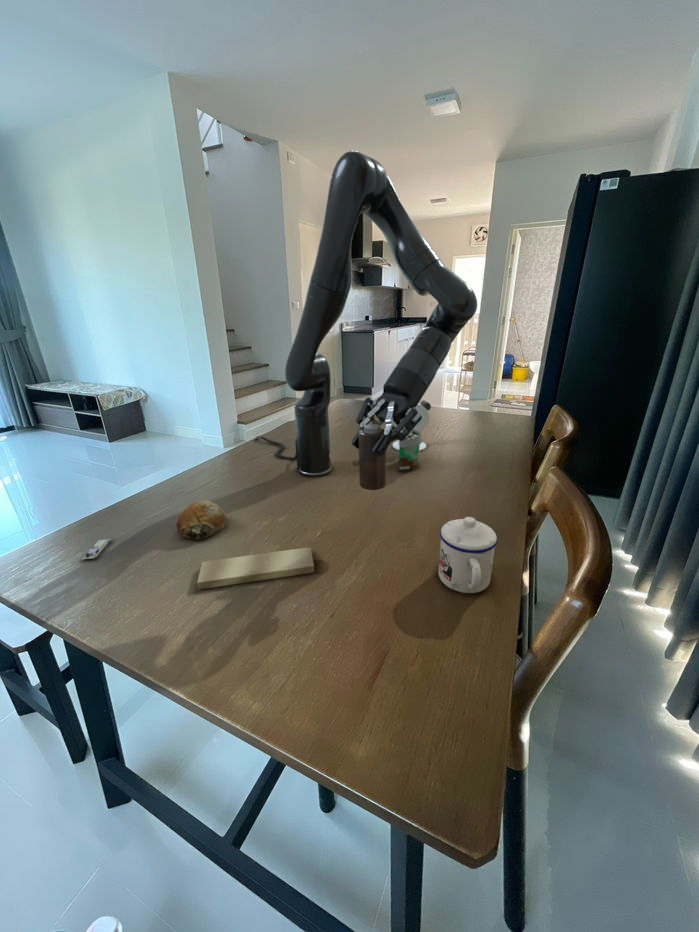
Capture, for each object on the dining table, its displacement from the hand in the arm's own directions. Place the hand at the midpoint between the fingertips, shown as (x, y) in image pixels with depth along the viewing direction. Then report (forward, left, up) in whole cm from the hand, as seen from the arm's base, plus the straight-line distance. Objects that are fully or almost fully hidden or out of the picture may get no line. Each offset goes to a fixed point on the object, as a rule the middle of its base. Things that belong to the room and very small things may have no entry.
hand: (365, 450), depth 72 cm
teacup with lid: (+22, 0, -19) cm, 29 cm away
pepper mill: (0, +2, -8) cm, 8 cm away
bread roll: (-30, -20, -19) cm, 41 cm away
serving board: (-8, -21, -19) cm, 30 cm away
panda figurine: (-24, +53, -19) cm, 61 cm away
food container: (-14, +38, -19) cm, 45 cm away
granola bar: (-39, -38, -19) cm, 58 cm away
